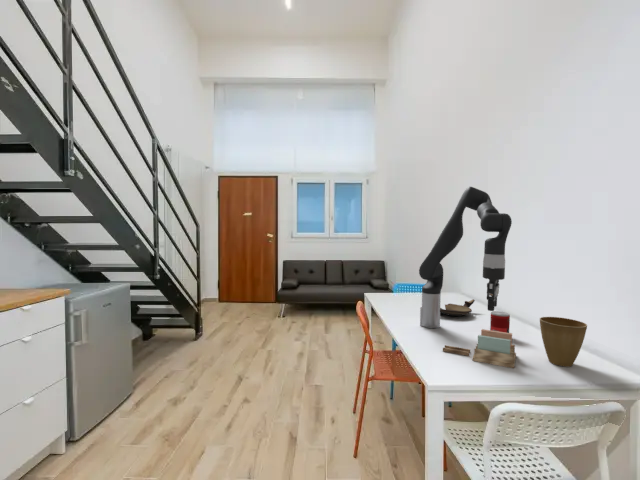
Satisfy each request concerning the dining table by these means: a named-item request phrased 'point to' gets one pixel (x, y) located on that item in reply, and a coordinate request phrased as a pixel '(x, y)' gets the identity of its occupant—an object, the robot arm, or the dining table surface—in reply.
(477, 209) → the robot arm
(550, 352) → the plant pot
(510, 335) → the pink rectangular slab
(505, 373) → the dining table surface
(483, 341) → the green plate
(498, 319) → the canned food
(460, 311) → the oil lamp
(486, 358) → the rack
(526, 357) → the dining table surface
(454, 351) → the stand rails
